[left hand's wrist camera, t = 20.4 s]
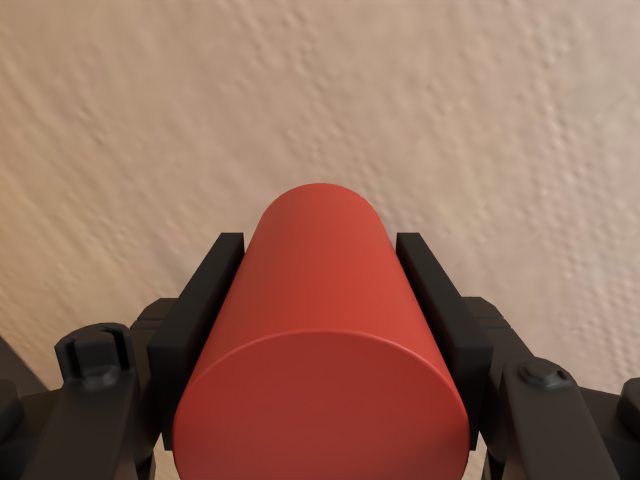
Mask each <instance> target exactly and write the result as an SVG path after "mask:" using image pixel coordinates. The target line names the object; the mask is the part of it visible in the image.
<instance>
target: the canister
mask: <svg viewBox="0 0 640 480" xmlns="http://www.w3.org/2000/svg"><path fill="white" fill-rule="evenodd" d="M469 451H470V426H469V421H468V416H467V413H466V410H465V408H464V405H463V402H462V400H461V398H460V395H459V393H458V391H457V389H456V386H455V384H454V382H453V380H452V377H451V375H450V373H449V371H448V369H447V366H446V364H445V362H444V360H443V357H442V355H441V353H440V351H439V349H438V346H437V344H436V342H435V340H434V337H433V335H432V333H431V331H430V328H429V326H428V324H427V322H426V320H425V317H424V315H423V313H422V311H421V308H420V306H419V304H418V302H417V300H416V297H415V295H414V293H413V291H412V288H411V286H410V284H409V282H408V279H407V277H406V275H405V273H404V271H403V268H402V266H401V264H400V262H399V259H398V257H397V255H396V253H395V251H394V248H393V246H392V244H391V242H390V239H389V237H388V235H387V233H386V230H385V228H384V226H383V224H382V222H381V219H380V218H379V216H378V214H377V212H376V211H375V210H374V208H373V207H372V206H371V205H370V204H369V203H368V202H367V201H366V200H365V199H364V198H363V197H361V196H360V195H359V194H357V193H355V192H353V191H351V190H349V189H347V188H344V187H342V186H338V185H334V184H326V183H314V184H307V185H303V186H299V187H296V188H294V189H292V190H289V191H287V192H286V193H284V194H282V195H281V196H280V197H278V198H277V199H276V200H275V201H274V202H273V203H272V204H271V205H270V206H269V207H268V208H267V209H266V211H265V212H264V214H263V215H262V217H261V219H260V221H259V223H258V226H257V228H256V230H255V232H254V235H253V237H252V239H251V241H250V244H249V246H248V248H247V251H246V253H245V255H244V257H243V260H242V262H241V264H240V266H239V269H238V271H237V273H236V275H235V278H234V280H233V282H232V284H231V287H230V289H229V291H228V294H227V296H226V298H225V300H224V303H223V305H222V307H221V309H220V312H219V314H218V316H217V318H216V321H215V323H214V325H213V327H212V330H211V332H210V334H209V337H208V339H207V341H206V343H205V346H204V348H203V350H202V352H201V355H200V357H199V359H198V361H197V364H196V366H195V368H194V370H193V373H192V375H191V377H190V380H189V382H188V384H187V386H186V389H185V391H184V393H183V395H182V398H181V400H180V402H179V405H178V408H177V411H176V413H175V416H174V421H173V427H172V452H173V457H174V463H175V466H176V469H177V472H178V474H179V477H180V479H181V480H461V479H462V477H463V475H464V472H465V469H466V466H467V463H468V457H469Z"/></svg>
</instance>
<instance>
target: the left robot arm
mask: <svg viewBox="0 0 640 480" xmlns="http://www.w3.org/2000/svg"><path fill="white" fill-rule="evenodd" d="M244 255H245V250H244V236H243V233H221V234H220V236H219V237H218V239H217V240H216V242H215V243H214V245H213V246H212V248H211V249H210V251H209V252H208V254H207V255H206V257H205V258H204V260H203V261H202V263H201V264H200V266H199V267H198V269H197V270H196V272H195V273H194V275H193V276H192V278H191V279H190V281H189V282H188V284H187V285H186V287H185V288H184V290H183V291H182V293H181V294H180V296H179V297H178V298H160V299H158V300H157V301H155V302H153V303H152V304H150V305H149V306H147V307H146V308H145V309H144V310H143V312H142V313H141V314H140V315H139V317H138V318H137V321H135V322H134V323H133V324H132V326H131V327H130V329H129V328H127V327H126V326H125V325H123V324H118V323H114V322H112V323H98V324H94V325H89V326H85V327H83V328H80V329H78V330H75V331H73V332H71V333H69V334H68V335H66V336H65V337H63V338H62V339H61V340H60V341H59V342H58V343H57V344H56V345H55V346H54V348H55V352H56V355H57V359H58V363H59V366H60V370H61V373H62V377H63V381H64V384H63V386H62V388H60V389H56V390H52V391H48V392H43V393H38V394H33V395H29V396H24V397H20V394H19V391H18V388H17V385H16V384H14V383H13V382H12V381H10V380H3V379H0V480H154V479H155V470H156V463H155V457H154V452H153V449H154V446H155V444H156V442H157V440H158V438H159V436H160V433H162V438H163V444H164V449H165V451H172V427H173V421H174V416H175V413H176V411H177V408H178V405H179V402H180V400H181V398H182V395H183V393H184V391H185V389H186V386H187V384H188V382H189V380H190V377H191V375H192V373H193V370H194V368H195V366H196V364H197V361H198V359H199V357H200V355H201V352H202V350H203V348H204V346H205V343H206V341H207V339H208V337H209V334H210V332H211V330H212V327H213V325H214V323H215V321H216V318H217V316H218V314H219V312H220V309H221V307H222V305H223V303H224V300H225V298H226V296H227V294H228V291H229V289H230V287H231V284H232V282H233V280H234V278H235V275H236V273H237V271H238V269H239V266H240V264H241V262H242V260H243V257H244ZM396 255H397V257H398V259H399V262H400V264H401V266H402V268H403V271H404V273H405V275H406V277H407V279H408V282H409V284H410V286H411V288H412V291H413V293H414V295H415V297H416V300H417V302H418V304H419V306H420V308H421V311H422V313H423V315H424V317H425V320H426V322H427V324H428V326H429V328H430V331H431V333H432V335H433V337H434V340H435V342H436V344H437V346H438V349H439V351H440V353H441V355H442V357H443V360H444V362H445V364H446V366H447V369H448V371H449V373H450V375H451V377H452V380H453V382H454V384H455V386H456V389H457V391H458V393H459V395H460V398H461V400H462V402H463V405H464V408H465V410H466V413H467V416H468V421H469V426H470V451H476V445H477V440H478V434H479V431H480V433H481V435H482V437H483V439H484V442H485V444H486V446H487V452H486V457H485V462H484V467H483V472H482V477H481V480H640V378H632V379H629V380H628V381H627V382H625V383H624V386H623V389H622V392H621V395H615V394H611V393H606V392H601V391H596V390H591V389H587V388H583V387H579V386H578V385H577V383H576V381H575V380H574V378H573V377H572V376H571V374H570V373H569V372H567V371H566V370H564V369H563V368H562V367H560V366H559V365H557V364H555V363H553V362H550V361H548V360H546V359H542V358H538V357H535V356H534V355H533V354H532V353H531V351H530V350H529V349H528V348H527V346H526V345H525V344H524V343H523V341H522V340H521V339H520V337H519V336H518V335H517V334H516V332H515V331H514V330H513V329H511V326H510V325H509V324H508V322H507V321H506V320H505V319H503V316H502V315H501V313H500V312H499V311H498V310H497V308H496V307H495V306H494V305H492V304H491V303H489V302H487V301H486V300H484V299H483V298H481V297H461V295H460V294H459V292H458V291H457V289H456V288H455V286H454V285H453V283H452V282H451V280H450V279H449V277H448V276H447V274H446V273H445V271H444V270H443V268H442V267H441V265H440V264H439V262H438V261H437V259H436V258H435V256H434V255H433V253H432V252H431V250H430V249H429V247H428V246H427V244H426V243H425V241H424V240H423V238H422V237H421V235H420V234H419V233H397V240H396Z"/></svg>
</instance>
